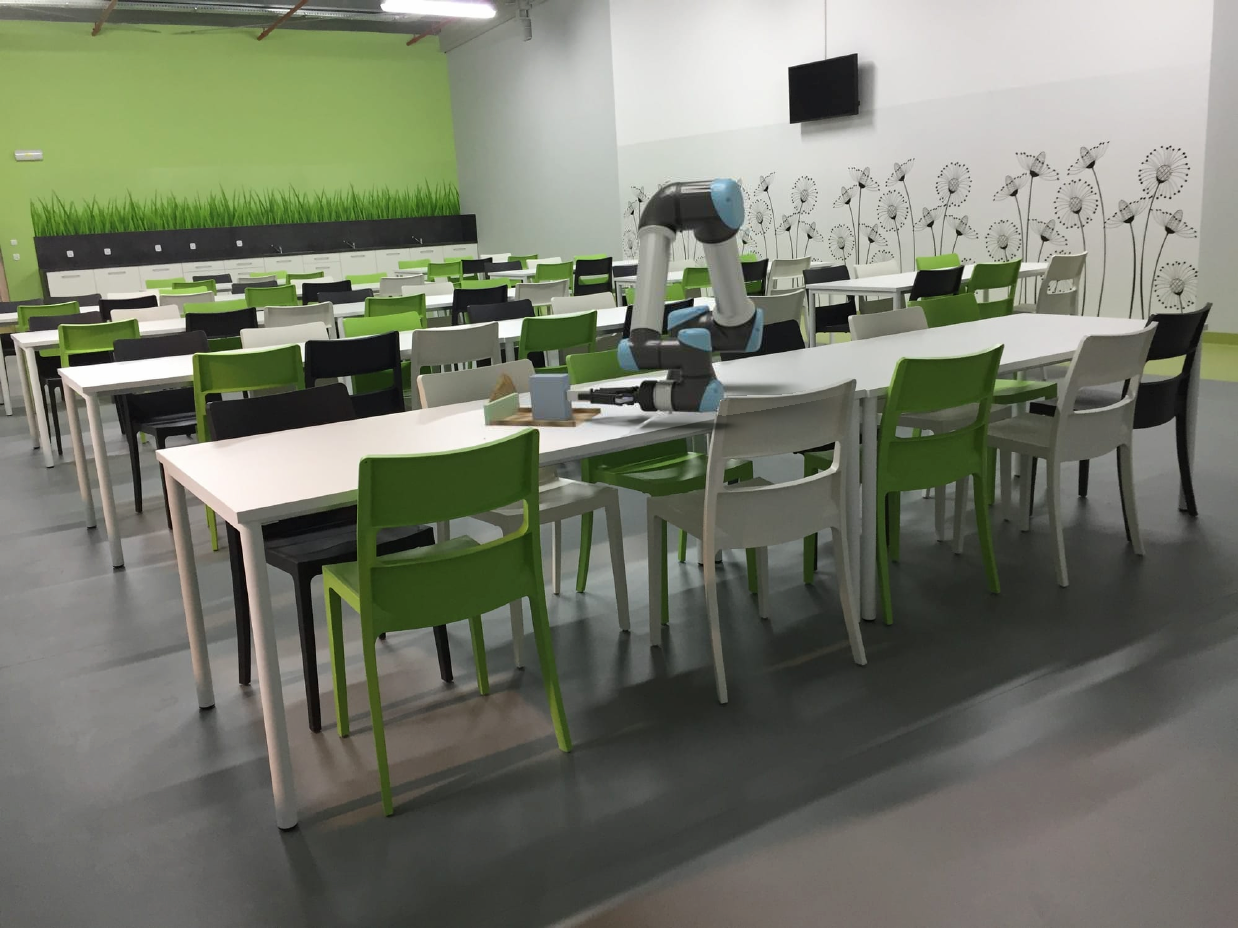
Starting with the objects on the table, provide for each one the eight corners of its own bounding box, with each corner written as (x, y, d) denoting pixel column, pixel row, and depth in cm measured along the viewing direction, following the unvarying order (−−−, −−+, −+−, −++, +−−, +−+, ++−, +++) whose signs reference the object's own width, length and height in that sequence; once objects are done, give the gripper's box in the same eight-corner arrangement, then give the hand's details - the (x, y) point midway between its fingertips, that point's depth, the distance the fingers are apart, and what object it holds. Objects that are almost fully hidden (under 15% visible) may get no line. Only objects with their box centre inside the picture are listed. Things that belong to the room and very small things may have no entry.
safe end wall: (520, 415, 262) (518, 392, 260) (490, 429, 247) (487, 405, 245) (516, 415, 262) (514, 392, 261) (485, 429, 247) (483, 405, 246)
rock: (530, 403, 265) (525, 392, 274) (508, 380, 261) (504, 370, 270) (499, 430, 266) (495, 418, 275) (478, 407, 262) (474, 396, 271)
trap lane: (601, 416, 253) (600, 408, 253) (574, 430, 238) (574, 421, 238) (520, 415, 262) (519, 407, 261) (490, 429, 247) (489, 420, 246)
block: (572, 417, 249) (569, 373, 247) (565, 421, 245) (561, 377, 243) (540, 416, 253) (536, 374, 250) (532, 420, 249) (528, 377, 246)
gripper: (650, 417, 232) (558, 415, 241) (667, 406, 244) (579, 405, 252) (648, 385, 230) (555, 385, 239) (666, 375, 242) (577, 376, 251)
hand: (568, 395), depth 246 cm, fingers closed
